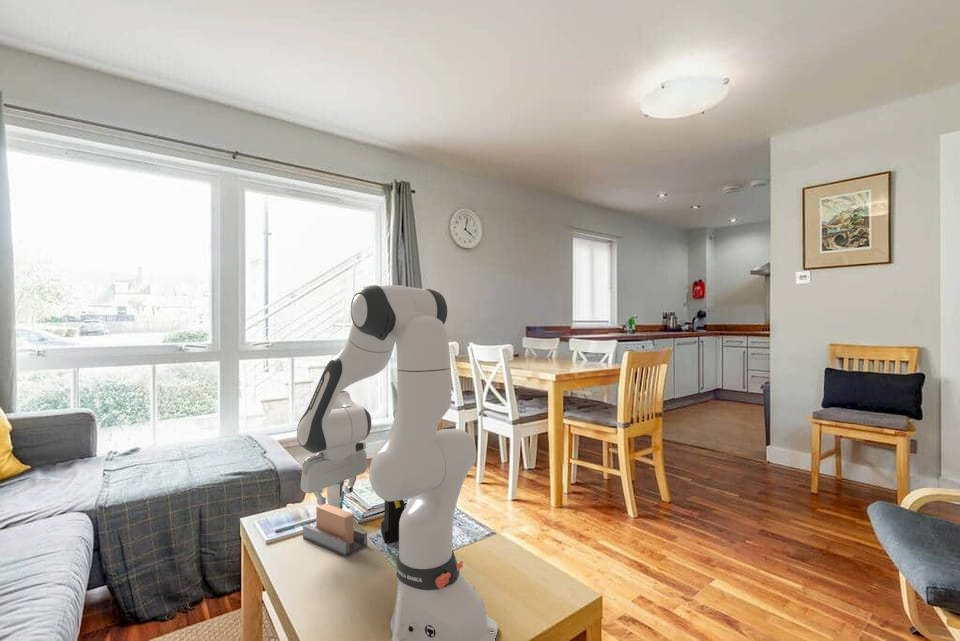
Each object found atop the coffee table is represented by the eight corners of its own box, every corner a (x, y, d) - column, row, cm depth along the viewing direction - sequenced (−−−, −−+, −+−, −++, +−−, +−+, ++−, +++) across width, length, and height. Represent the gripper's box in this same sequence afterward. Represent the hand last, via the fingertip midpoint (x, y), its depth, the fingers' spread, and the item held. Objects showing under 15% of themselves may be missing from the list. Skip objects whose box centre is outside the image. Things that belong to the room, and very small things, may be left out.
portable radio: (407, 541, 125) (407, 453, 124) (385, 545, 123) (385, 455, 122) (401, 528, 132) (401, 445, 132) (380, 532, 130) (381, 447, 129)
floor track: (367, 544, 123) (367, 532, 123) (345, 557, 117) (345, 544, 116) (324, 527, 132) (324, 515, 132) (303, 537, 126) (303, 525, 126)
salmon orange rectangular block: (353, 542, 123) (353, 513, 122) (344, 547, 120) (344, 517, 120) (325, 530, 129) (325, 503, 129) (316, 534, 126) (316, 507, 126)
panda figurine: (352, 524, 135) (352, 475, 134) (313, 527, 132) (313, 477, 132) (355, 507, 146) (355, 462, 146) (318, 510, 144) (319, 464, 144)
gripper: (310, 460, 114) (310, 514, 114) (370, 441, 131) (370, 488, 131) (295, 456, 117) (295, 509, 117) (355, 438, 134) (355, 484, 134)
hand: (335, 498), depth 124 cm, fingers open, 8 cm apart
